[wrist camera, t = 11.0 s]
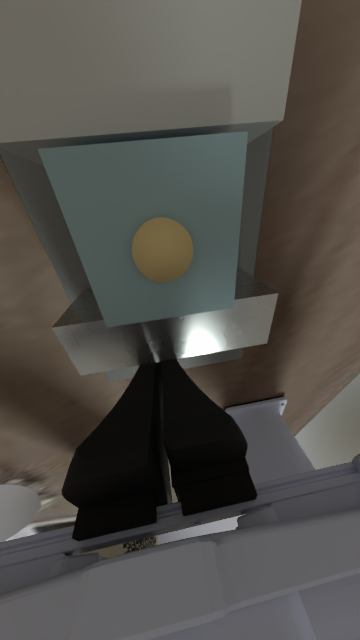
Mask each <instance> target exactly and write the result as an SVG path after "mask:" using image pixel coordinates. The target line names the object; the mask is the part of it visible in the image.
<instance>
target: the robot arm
mask: <svg viewBox="0 0 360 640" xmlns="http://www.w3.org/2000/svg"><path fill="white" fill-rule="evenodd" d="M286 403H287V399H286V398H285V397H281V398H276V399H270V400H265V401H260V402H255V403H250V404H245V405H240V406H235V407H230V408H226V409H225V411H224V410H223V409H221V408H220V407H219V406H218V405H217V404H215V403H214V402H213V401H212V400H211V399H210V398H209V397H208V396H207V395H206V394H204V393H203V392H202V391H201V390H200V389H199V388H198V387H197V385H196V384H195V383H194V382H193V381H192V380H191V379H190V378H189V376H188V375H187V374H186V372H185V371H184V370H183V368H182V367H181V366H180V364H179V362H178V361H177V359H170V360H164V361H160V362H157V363H156V362H153V363H147V364H141V365H139V367H138V369H137V371H136V373H135V375H134V377H133V379H132V381H131V382H130V384H129V386H128V387H127V389H126V390H125V392H124V393H123V395H122V396H121V398H120V399H119V401H118V402H117V403H116V405H115V406H114V407H113V409H112V410H111V411H110V412H109V414H108V415H107V416H106V417H105V418H104V420H103V421H102V422H101V423H100V424H99V426H98V427H97V428H96V429H95V430H94V431H93V432H92V433H91V434H90V435H89V436H88V437H87V438H86V439H85V440H84V442H83V443H82V444H81V445H80V446H79V447H78V448H77V449H76V451H75V454H74V456H73V458H72V461H71V463H70V466H69V469H68V472H67V475H66V479H65V482H64V485H63V488H62V495H63V497H64V498H65V499H66V500H67V501H69V502H70V503H72V504H73V505H75V506H76V507H78V508H79V509H78V513H77V518H76V522H75V526H70V527H66V528H62V529H57V530H53V531H49V532H44V533H40V534H35V535H31V536H27V537H22V538H18V539H14V540H9V541H5V542H1V543H0V640H360V454H358V455H357V456H355V457H354V458H353V460H352V462H349V463H344V464H340V465H336V466H331V467H327V468H323V469H318V470H315V468H314V467H313V465H312V464H311V462H310V460H309V459H308V457H307V456H306V454H305V452H304V451H303V449H302V448H301V446H300V445H299V443H298V441H297V440H296V438H295V437H294V435H293V433H292V432H291V430H290V429H289V427H288V426H287V424H286V422H285V421H284V419H283V418H282V416H281V415H282V413H283V410H284V408H285V405H286ZM168 460H169V463H170V466H171V479H172V487H173V488H174V490H175V493H176V496H177V499H178V502H175V503H172V495H171V486H170V476H169V466H168ZM247 513H248V514H247ZM243 514H245V515H243ZM239 515H243V516H240V517H238V519H237V522H238V527H237V528H236V529H235V530H231V531H225V532H219V533H213V534H207V535H202V536H197V537H191V538H187V539H182V540H177V541H173V542H168V543H164V544H160V545H156V546H152V547H148V548H144V549H140V550H137V551H133V552H129V553H126V554H122V555H119V556H116V557H113V558H105V557H102V556H100V555H99V553H98V552H96V553H88V554H81V553H85V552H90V551H94V550H98V549H102V548H106V547H110V546H114V545H119V544H123V543H127V542H131V541H135V540H139V539H144V538H148V537H152V536H156V535H160V534H164V533H168V532H173V531H177V530H181V529H185V528H189V527H193V526H197V525H201V524H206V523H210V522H214V521H218V520H222V519H227V518H231V517H235V516H239ZM77 554H79V555H77Z"/></svg>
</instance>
